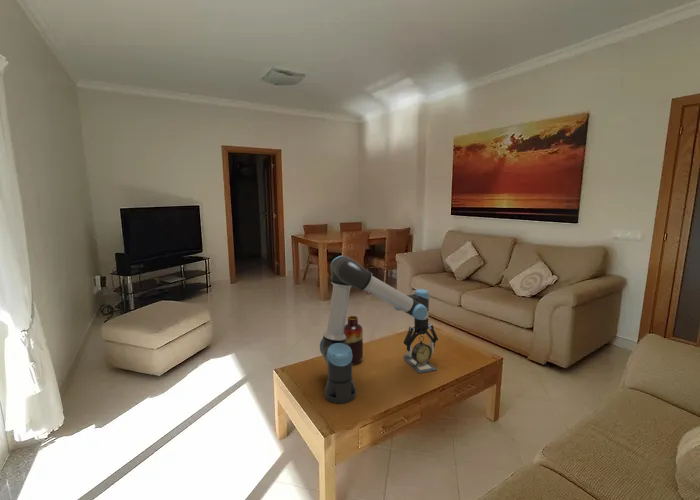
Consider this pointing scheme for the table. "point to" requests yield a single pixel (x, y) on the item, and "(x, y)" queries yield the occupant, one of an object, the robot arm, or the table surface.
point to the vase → (354, 338)
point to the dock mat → (419, 365)
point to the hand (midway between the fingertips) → (420, 354)
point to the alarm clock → (421, 353)
